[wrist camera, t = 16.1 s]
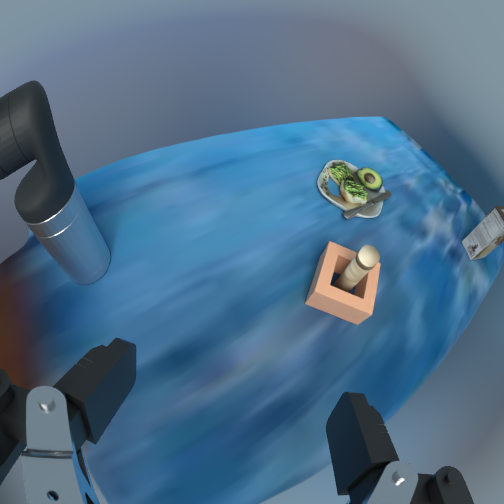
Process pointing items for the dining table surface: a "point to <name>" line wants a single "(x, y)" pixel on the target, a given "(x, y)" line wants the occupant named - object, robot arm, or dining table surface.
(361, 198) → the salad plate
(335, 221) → the dining table surface
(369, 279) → the orange square ring
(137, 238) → the dining table surface
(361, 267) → the birch peg
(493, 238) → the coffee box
